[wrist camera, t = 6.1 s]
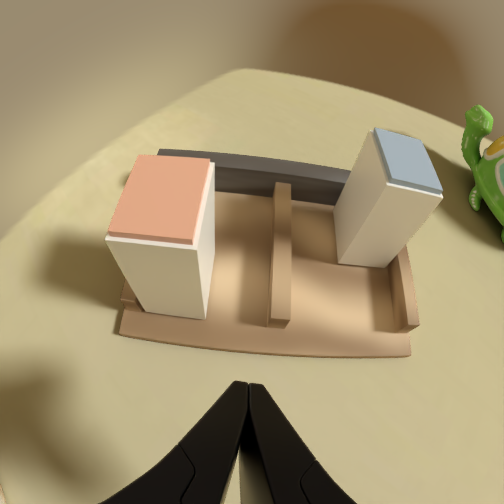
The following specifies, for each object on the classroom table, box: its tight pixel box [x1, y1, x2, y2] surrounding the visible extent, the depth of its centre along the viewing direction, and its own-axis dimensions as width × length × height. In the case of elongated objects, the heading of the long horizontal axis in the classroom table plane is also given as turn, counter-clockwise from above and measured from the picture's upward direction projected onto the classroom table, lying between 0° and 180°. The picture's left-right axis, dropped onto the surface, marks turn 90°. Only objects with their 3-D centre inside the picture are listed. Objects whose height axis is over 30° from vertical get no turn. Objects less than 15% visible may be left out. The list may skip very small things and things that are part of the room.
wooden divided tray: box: [119, 149, 420, 358], centre depth 22 cm, size 14×20×4 cm
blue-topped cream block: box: [333, 128, 443, 268], centre depth 20 cm, size 5×4×9 cm
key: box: [105, 155, 215, 320], centre depth 17 cm, size 5×4×9 cm
